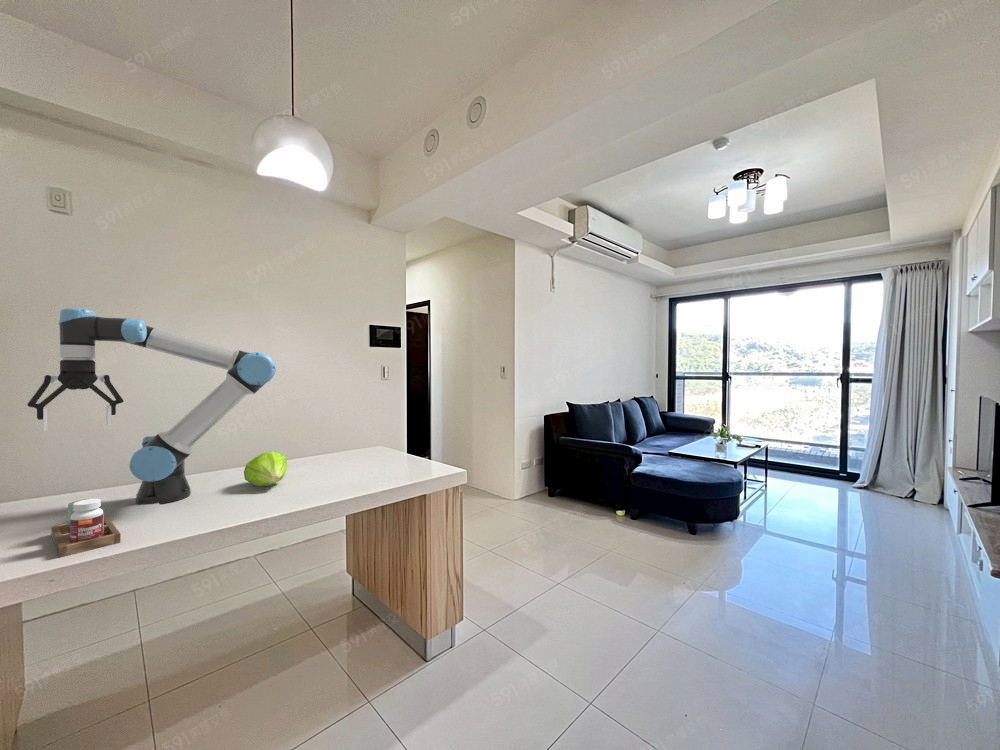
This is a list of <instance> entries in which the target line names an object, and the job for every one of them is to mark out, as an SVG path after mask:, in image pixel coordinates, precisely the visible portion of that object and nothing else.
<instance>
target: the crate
mask: <svg viewBox="0 0 1000 750" xmlns="http://www.w3.org/2000/svg"><path fill="white" fill-rule="evenodd" d="M103 517H104V526H103V536H102V537H98V538H94V539H90V540H85V541H81V542H77V543H72V544H70V533H68V522H67V523H63V524H58V525H52V526H50V527H51V528H50V531H51V532H50V533H51V534H50V535H51V539H52V540H53V541H52V542H53V544H54V546H55V548H56V551H57V555H58V557H59V559H60V558H65V557H68V556H72V555H73V556H74V555H76V554H80V553H84V552H88V551H94V550H97V549H100V548H105V547H108V546H112V545H113V546H114V545H116V544H120V543H121V532H120V531H119V530H118V528H117V527H116V526H115V525H114V523H112V521H111V519H110V518H109V517H108V516H107V515H103Z"/></svg>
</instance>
